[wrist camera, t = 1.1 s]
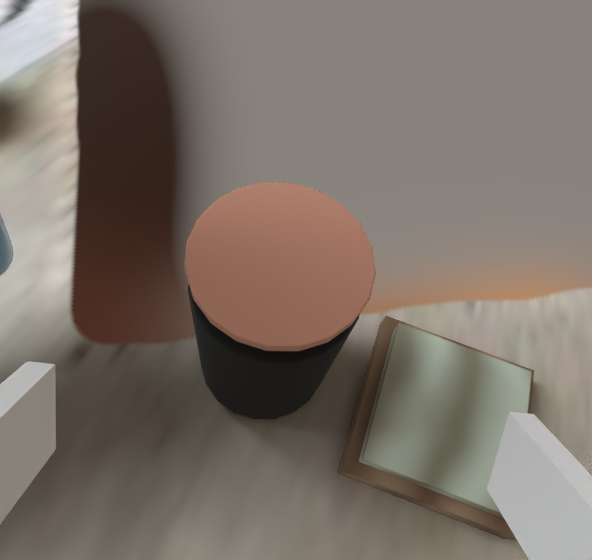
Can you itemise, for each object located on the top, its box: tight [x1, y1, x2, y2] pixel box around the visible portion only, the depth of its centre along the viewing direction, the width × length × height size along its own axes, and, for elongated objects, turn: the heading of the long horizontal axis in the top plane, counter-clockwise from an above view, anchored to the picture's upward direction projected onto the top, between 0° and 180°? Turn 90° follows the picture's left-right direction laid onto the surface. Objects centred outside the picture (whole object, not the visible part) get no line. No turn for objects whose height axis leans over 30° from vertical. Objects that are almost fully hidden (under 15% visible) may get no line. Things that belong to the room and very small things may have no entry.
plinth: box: [338, 316, 534, 539], centre depth 40 cm, size 14×14×4 cm
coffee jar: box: [184, 182, 376, 419], centre depth 34 cm, size 11×11×18 cm
